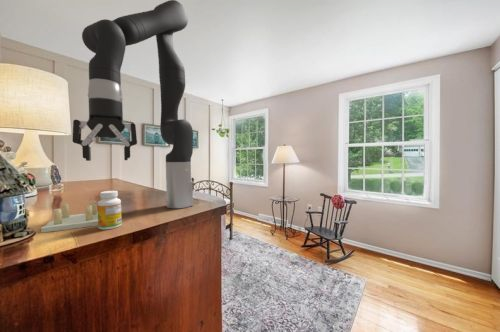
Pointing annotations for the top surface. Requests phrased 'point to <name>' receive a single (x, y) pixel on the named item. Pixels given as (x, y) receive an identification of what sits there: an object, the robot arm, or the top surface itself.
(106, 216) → the supplement bottle
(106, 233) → the top surface
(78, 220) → the standoff chassis
